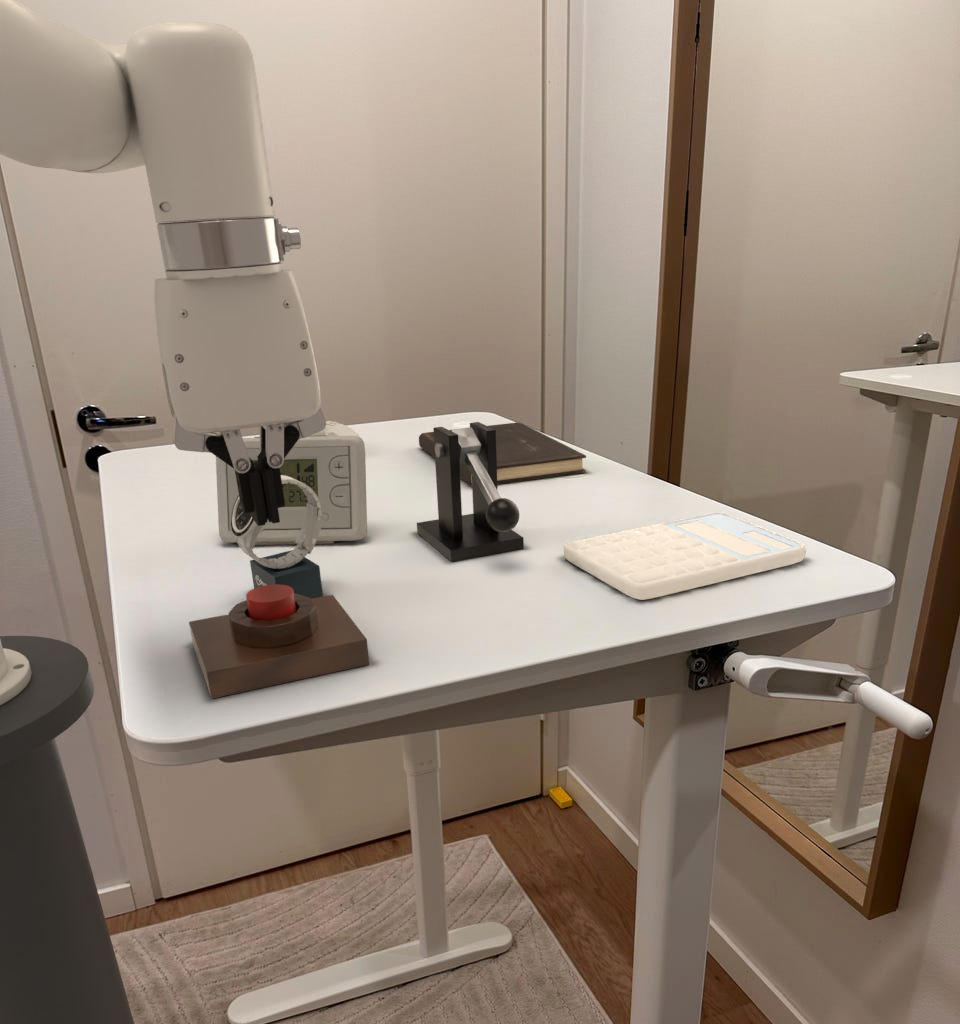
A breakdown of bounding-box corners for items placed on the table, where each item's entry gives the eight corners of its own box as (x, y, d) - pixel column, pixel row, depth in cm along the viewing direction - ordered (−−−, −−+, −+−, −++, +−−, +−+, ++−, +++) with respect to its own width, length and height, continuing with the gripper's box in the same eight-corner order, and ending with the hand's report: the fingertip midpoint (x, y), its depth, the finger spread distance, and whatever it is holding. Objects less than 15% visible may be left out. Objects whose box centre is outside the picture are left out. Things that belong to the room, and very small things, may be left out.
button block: (211, 699, 66) (202, 649, 64) (193, 645, 74) (184, 601, 72) (369, 664, 70) (364, 617, 68) (335, 617, 78) (330, 574, 77)
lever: (521, 536, 87) (527, 512, 84) (490, 541, 86) (496, 517, 83) (472, 447, 94) (476, 423, 91) (443, 451, 92) (447, 426, 90)
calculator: (558, 558, 89) (558, 540, 89) (719, 524, 97) (720, 507, 96) (637, 604, 79) (637, 584, 78) (810, 561, 86) (813, 542, 85)
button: (254, 626, 68) (250, 605, 68) (245, 609, 71) (242, 589, 71) (300, 617, 70) (298, 596, 69) (290, 601, 73) (287, 581, 72)
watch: (234, 597, 83) (215, 480, 79) (313, 576, 87) (300, 464, 83) (259, 616, 79) (240, 494, 74) (340, 593, 83) (328, 476, 79)
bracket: (523, 548, 93) (522, 433, 87) (451, 561, 90) (445, 443, 85) (484, 521, 101) (481, 415, 96) (417, 533, 98) (409, 424, 93)
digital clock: (212, 546, 97) (195, 447, 92) (251, 520, 104) (238, 428, 100) (353, 554, 93) (343, 451, 88) (383, 527, 100) (375, 431, 96)
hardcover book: (520, 437, 138) (519, 422, 137) (585, 472, 118) (586, 455, 117) (419, 448, 133) (418, 433, 132) (470, 488, 113) (469, 469, 112)
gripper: (318, 243, 65) (348, 491, 73) (98, 258, 60) (156, 523, 68) (347, 244, 59) (376, 515, 67) (104, 261, 54) (166, 552, 62)
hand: (265, 519), depth 67 cm, fingers closed
